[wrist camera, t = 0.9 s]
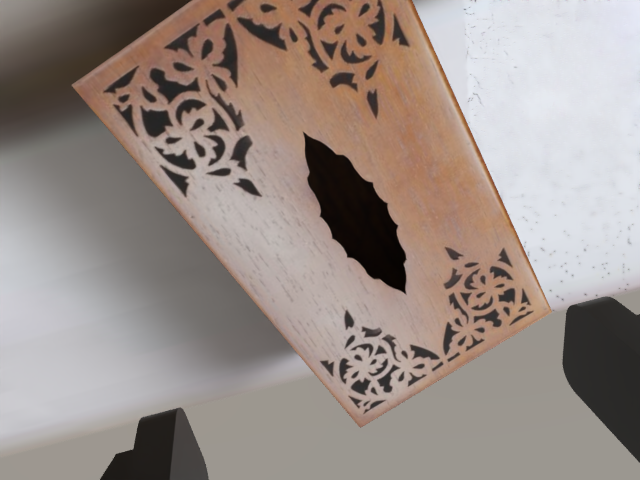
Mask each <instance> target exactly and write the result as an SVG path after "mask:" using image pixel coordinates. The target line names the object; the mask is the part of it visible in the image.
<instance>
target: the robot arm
mask: <svg viewBox="0 0 640 480" xmlns="http://www.w3.org/2000/svg"><path fill="white" fill-rule="evenodd" d="M563 369H564V373H565V376H566V378H567V380H568V382H569V384H570V386H571V387H572V389H573V390H574V392H575V393H576V394H577V395H578V396H579V397H580V398H581V399H582V400H583V401H584V403H585V404H586V405H587V406H588V407H589V408H590V409H591V410H592V411H593V412H594V413H595V415H596V416H597V417H598V418H599V419H600V420H601V421H602V422H603V423H604V424H605V425H606V427H607V428H608V429H609V430H610V431H611V432H612V433H613V434H614V435H615V436H616V437H617V439H618V440H619V441H620V442H621V443H622V444H623V445H624V446H625V447H626V448H627V449H628V450H629V452H630V453H631V454H632V455H633V456H634V457H635V458H636V459H637V460H638V461H639V462H640V314H639V315H635V314H634V313H633V312H631V311H630V310H629V309H627V308H626V307H625V306H623V305H622V304H621V303H619V302H618V301H617V300H615V299H613V298H611V297H601V298H598V299H594V300H590V301H586V302H582V303H579V304H575V305H572V306H570V307H569V308H568V310H567V313H566V323H565V337H564V349H563ZM100 480H209V479H208V473H207V468H206V464H205V461H204V458H203V456H202V453H201V451H200V448H199V446H198V443H197V441H196V439H195V436H194V434H193V431H192V429H191V426H190V424H189V422H188V419H187V417H186V414H185V412H184V410H183V409H182V408H176V409H173V410H169V411H165V412H161V413H157V414H154V415H150V416H146V417H142V418H141V419H140V421H139V423H138V428H137V433H136V438H135V444H134V449H133V450H129V451H125V452H122V453H118V454H116V455H115V457H114V459H113V460H112V462H111V463H110V465H109V466H108V468H107V469H106V471H105V473H104V474H103V476H102V477H101V479H100Z"/></svg>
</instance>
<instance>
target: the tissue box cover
mask: <svg viewBox="0 0 640 480" xmlns="http://www.w3.org/2000/svg"><path fill="white" fill-rule="evenodd" d="M72 86H73V88H74V89H75V90H76V91H77V92H78V94H79V95H80V96H81V97H82V98H83V100H84V101H85V102H86V103H87V104H88V105H89V107H90V108H91V109H92V110H93V111H94V113H95V114H96V115H97V116H98V117H99V119H100V120H101V121H102V122H103V123H104V124H105V126H106V127H107V128H108V129H109V130H110V132H111V133H112V134H113V135H114V136H115V138H116V139H117V140H118V141H119V142H120V143H121V145H122V146H123V147H124V148H125V149H126V151H127V152H128V153H129V154H130V155H131V156H132V158H133V159H134V160H135V161H136V162H137V164H138V165H139V166H140V167H141V168H142V170H143V171H144V172H145V173H146V174H147V175H148V177H149V178H150V179H151V180H152V181H153V183H154V184H155V185H156V186H157V187H158V189H159V190H160V191H161V192H162V193H163V194H164V196H165V197H166V198H167V199H168V200H169V202H170V203H171V204H172V205H173V206H174V207H175V209H176V210H177V211H178V212H179V213H180V215H181V216H182V217H183V218H184V219H185V221H186V222H187V223H188V224H189V225H190V226H191V228H192V229H193V230H194V231H195V232H196V234H197V235H198V236H199V237H200V238H201V240H202V241H203V242H204V243H205V244H206V245H207V247H208V248H209V249H210V250H211V251H212V253H213V254H214V255H215V256H216V257H217V258H218V260H219V261H220V262H221V263H222V264H223V266H224V267H225V268H226V269H227V270H228V272H229V273H230V274H231V275H232V276H233V277H234V279H235V280H236V281H237V282H238V283H239V285H240V286H241V287H242V288H243V289H244V291H245V292H246V293H247V294H248V295H249V296H250V298H251V299H252V300H253V301H254V302H255V304H256V305H257V306H258V307H259V308H260V310H261V311H262V312H263V313H264V314H265V315H266V317H267V318H268V319H269V320H270V321H271V323H272V324H273V325H274V326H275V327H276V328H277V330H278V331H279V332H280V333H281V334H282V336H283V337H284V338H285V339H286V340H287V342H288V343H289V344H290V345H291V346H292V347H293V349H294V350H295V351H296V352H297V353H298V355H299V356H300V357H301V358H302V359H303V361H304V362H305V363H306V364H307V365H308V366H309V368H310V369H311V370H312V371H313V372H314V374H315V375H316V376H317V377H318V378H319V379H320V381H321V382H322V383H323V384H324V385H325V387H326V388H327V389H328V390H329V391H330V392H331V394H332V395H333V396H334V397H335V398H336V400H337V401H338V402H339V403H340V404H341V406H342V407H343V408H344V409H345V410H346V411H347V413H348V414H349V415H350V416H351V417H352V419H353V420H354V421H355V422H356V423H357V424H358V426H359V427H363V426H364V425H366V424H367V423H369V422H371V421H372V420H374V419H376V418H377V417H379V416H381V415H382V414H384V413H386V412H387V411H389V410H391V409H392V408H394V407H396V406H397V405H399V404H401V403H402V402H404V401H405V400H407V399H409V398H411V397H412V396H414V395H415V394H417V393H419V392H421V391H422V390H424V389H425V388H427V387H429V386H430V385H432V384H434V383H435V382H437V381H439V380H440V379H442V378H444V377H445V376H447V375H449V374H450V373H452V372H454V371H455V370H457V369H458V368H460V367H462V366H464V365H465V364H467V363H469V362H470V361H472V360H474V359H475V358H477V357H479V356H480V355H482V354H483V353H485V352H487V351H488V350H490V349H492V348H493V347H495V346H497V345H498V344H500V343H502V342H503V341H505V340H507V339H508V338H510V337H512V336H513V335H515V334H517V333H518V332H520V331H522V330H523V329H525V328H527V327H528V326H530V325H531V324H533V323H535V322H536V321H538V320H540V319H541V318H543V317H545V316H546V315H548V314H550V313H551V312H552V311H551V309H550V306H549V304H548V302H547V300H546V298H545V295H544V293H543V291H542V289H541V286H540V284H539V282H538V280H537V277H536V275H535V273H534V271H533V269H532V266H531V264H530V262H529V260H528V257H527V255H526V253H525V251H524V249H523V246H522V244H521V242H520V240H519V237H518V235H517V233H516V231H515V229H514V226H513V224H512V222H511V220H510V217H509V215H508V213H507V211H506V209H505V206H504V204H503V202H502V200H501V197H500V195H499V193H498V191H497V189H496V186H495V184H494V182H493V180H492V177H491V175H490V173H489V171H488V169H487V166H486V164H485V162H484V160H483V157H482V155H481V153H480V151H479V148H478V146H477V144H476V142H475V140H474V137H473V135H472V133H471V131H470V128H469V126H468V124H467V122H466V120H465V117H464V115H463V113H462V111H461V108H460V106H459V104H458V102H457V100H456V97H455V95H454V93H453V91H452V88H451V86H450V84H449V82H448V80H447V77H446V75H445V73H444V71H443V68H442V66H441V64H440V62H439V60H438V57H437V55H436V53H435V51H434V48H433V46H432V44H431V42H430V40H429V37H428V35H427V33H426V31H425V28H424V26H423V24H422V22H421V19H420V17H419V15H418V13H417V11H416V8H415V6H414V4H413V2H412V0H192V1H190V2H189V3H187V4H186V5H185V6H183V7H182V8H180V9H179V10H177V11H176V12H175V13H173V14H172V15H170V16H169V17H167V18H166V19H165V20H163V21H162V22H160V23H159V24H158V25H156V26H155V27H153V28H152V29H150V30H149V31H148V32H146V33H145V34H143V35H142V36H140V37H139V38H138V39H136V40H135V41H133V42H132V43H130V44H129V45H128V46H126V47H125V48H123V49H122V50H121V51H119V52H118V53H116V54H115V55H113V56H112V57H111V58H109V59H108V60H106V61H105V62H103V63H102V64H101V65H99V66H98V67H96V68H95V69H93V70H92V71H91V72H89V73H88V74H86V75H85V76H84V77H82V78H81V79H79V80H78V81H76V82H75V83H74V84H72ZM405 291H406V292H405ZM403 292H404V293H403Z"/></svg>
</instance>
